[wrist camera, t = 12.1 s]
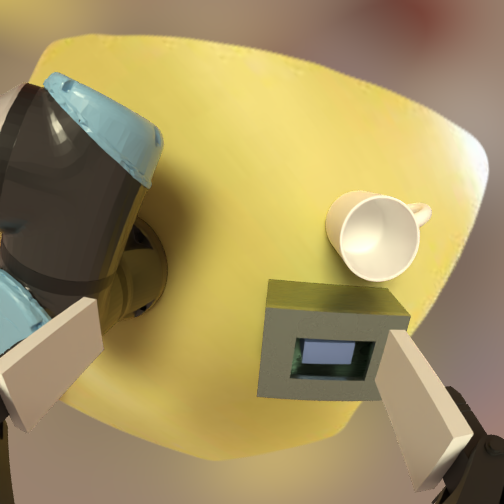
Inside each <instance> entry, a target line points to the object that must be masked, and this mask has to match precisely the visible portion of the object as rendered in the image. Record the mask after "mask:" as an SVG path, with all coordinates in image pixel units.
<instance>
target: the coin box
mask: <svg viewBox="0 0 504 504" xmlns="http://www.w3.org/2000/svg"><path fill="white" fill-rule="evenodd" d="M410 317H411V316H410V314H409V313H408V312H407V311H406V310H405V309H404V307H403V306H402V305H401V304H400V303H399V302H398V300H397V299H396V298H395V297H394V296H393V295H392V293H391V292H390V291H389V290H388V289H387V288H374V287H359V286H345V285H332V284H319V283H306V282H294V281H283V280H271V279H269V283H268V292H267V301H266V311H265V322H264V332H263V342H262V352H261V362H260V372H259V382H258V391H257V397H267V398H280V399H295V400H318V401H373V400H382V398H381V396H380V393H379V391H378V388H377V386H376V383H375V378H376V375H377V372H378V368H379V365H380V362H381V359H382V355H383V352H384V348H385V345H386V341H387V338H388V334H389V330H405V331H407V328H408V324H409V321H410ZM299 338H308V339H325V340H346V341H355V347H354V351H353V356H352V360H351V364H309V363H302V360H301V349H300V339H299Z"/></svg>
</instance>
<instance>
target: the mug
mask: <svg viewBox="0 0 504 504" xmlns="http://www.w3.org/2000/svg"><path fill="white" fill-rule="evenodd" d="M431 215H432V210H431V208H430V207H429V206H428V205H427V204H424V203H411V204H405V203H403V202H402V201H401V200H399V199H397V198H394V197H391V196H386V195H382V194H377V193H372V192H367V191H351V192H347V193H345V194H343V195H341V196H340V197H338V198H337V199H336V200H335V201H334V202H333V203H332V205H331V206H330V208H329V210H328V213H327V216H326V232H327V236H328V238H329V241H330V242H331V244H332V246H333V247H334V248H335V250H336V251H337V252H338V254H339V255H340V257H341V258H342V259H343V261H344V262H345V263H346V265H347V266H348V268H349V269H350V270H351V271H352V272H353V273H354V274H356V275H357V276H359V277H360V278H363V279H365V280H368V281H375V282H380V281H387V280H390V279H393V278H395V277H397V276H398V275H400V274H401V273H403V272H404V271H405V270H406V269H407V268H408V267H409V266H410V264H411V263H412V261H413V260H414V258H415V256H416V254H417V251H418V248H419V242H420V231H419V227H421V226H423V225H424V224H425V223H426V222H428V220H429V219H430V218H431Z"/></svg>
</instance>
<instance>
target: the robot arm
mask: <svg viewBox="0 0 504 504" xmlns="http://www.w3.org/2000/svg"><path fill="white" fill-rule="evenodd" d="M43 85H44V87H39V86H36V85H33V84H29V83H26V82H23V83H21V84H20V85H18V86H16V87H14V88H13V89H11V90H10V91H8V92H6V93H5V94H2V95H0V232H2V239H1V246H0V504H15V503H14V498H13V490H12V483H11V474H10V464H9V450H8V426H7V423H6V421H5V419H6V417H8V415H9V416H10V418H11V420H12V422H13V424H14V426H15V427H17V428H19V429H20V430H22V431H24V432H26V433H28V434H29V433H30V431H31V430H32V429H33V428H34V427H35V426H36V424H37V423H38V422H39V421H40V420H41V419H42V418H43V416H44V415H45V414H46V413H47V412H48V411H49V410H50V408H51V407H52V406H53V405H54V404H55V403H56V402H57V400H58V399H59V398H60V397H61V396H62V395H63V394H64V393H65V392H66V391H67V389H68V388H69V387H70V386H71V385H72V384H73V383H74V382H75V381H76V379H77V378H78V377H79V376H80V375H81V374H82V373H83V372H84V371H85V370H86V369H87V367H88V366H89V365H90V364H91V363H92V362H93V361H94V360H95V359H96V358H97V357H98V356H99V354H100V353H101V352H102V351H103V350H104V347H103V341H102V336H103V335H104V334H105V333H106V332H107V331H108V330H109V329H110V328H111V327H112V326H113V325H114V324H115V323H116V322H119V321H123V320H127V319H131V318H135V317H137V316H140V315H142V314H143V313H145V312H146V311H148V310H149V309H150V308H151V307H152V306H153V305H154V304H155V303H156V301H157V300H158V299H159V298H160V296H161V294H162V293H163V290H164V288H165V285H166V281H167V260H166V255H165V252H164V249H163V246H162V244H161V242H160V240H159V238H158V237H157V235H156V234H155V232H154V231H153V230H152V229H151V227H150V226H149V225H148V224H146V223H145V222H144V221H143V220H142V219H140V218H139V217H137V214H138V212H139V209H140V207H141V204H142V202H143V200H144V197H145V195H146V193H147V190H148V189H150V188H151V186H152V182H151V180H152V177H153V174H154V171H155V168H156V166H157V163H158V161H159V158H160V156H161V153H162V151H163V146H164V141H163V136H162V134H161V131H160V130H159V129H158V127H157V126H155V125H154V124H153V123H151V122H150V121H148V120H147V119H145V118H143V117H142V116H140V115H139V114H137V113H135V112H133V111H132V110H130V109H128V108H127V107H125V106H123V105H121V104H120V103H118V102H116V101H114V100H112V99H111V98H109V97H107V96H105V95H103V94H101V93H99V92H97V91H95V90H94V89H92V88H90V87H88V86H86V85H84V84H81V83H79V82H77V81H75V80H73V79H71V78H69V77H67V76H65V75H63V74H61V73H58V72H54V73H52V74H51V75H50V76H49V77H48V78H47V79H45V81H44V83H43ZM375 383H376V386H377V388H378V391H379V393H380V396H381V398H382V401H383V403H384V406H385V409H386V411H387V414H388V416H389V419H390V422H391V424H392V427H393V430H394V432H395V435H396V438H397V441H398V444H399V446H400V449H401V452H402V455H403V458H404V460H405V464H406V467H407V470H408V472H409V475H410V479H411V482H412V485H413V488H414V491H415V492H421V491H425V490H430V489H434V488H435V487H436V486H437V485H438V483H439V482H440V481H441V479H442V478H443V480H444V482H445V485H446V486H445V487H444V488H443V490H442V491H441V492H440V493H439V494H438V495H437V497H436V498H435V499H434V500H433V501H432V504H434V503H435V502H436V503H435V504H504V439H503V438H501V437H499V436H496V435H487V433H486V432H485V431H484V429H483V427H482V426H481V424H480V423H479V421H478V420H477V418H476V417H475V415H474V413H473V412H472V411H471V409H470V407H469V406H468V404H466V402H465V400H464V398H463V397H462V395H461V394H460V393H459V392H458V391H456V390H455V389H454V388H452V387H451V386H449V387H444V385H443V384H442V382H441V381H440V379H439V378H438V377H437V375H436V373H435V372H434V371H433V369H432V368H431V366H430V365H429V363H428V362H427V360H426V359H425V357H424V356H423V354H422V353H421V352H420V350H419V349H418V347H417V346H416V345H415V343H414V342H413V340H412V339H411V338H410V336H409V335H408V333H407V332H406V331H405V330H389V334H388V338H387V341H386V345H385V348H384V352H383V355H382V359H381V362H380V365H379V368H378V372H377V375H376V378H375Z"/></svg>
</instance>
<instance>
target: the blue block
mask: <svg viewBox="0 0 504 504" xmlns="http://www.w3.org/2000/svg"><path fill="white" fill-rule="evenodd" d="M299 339H300V349H301V360H302V363H309V364H351V360H352V356H353V351H354V347H355V341H346V340H325V339H308V338H299Z"/></svg>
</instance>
